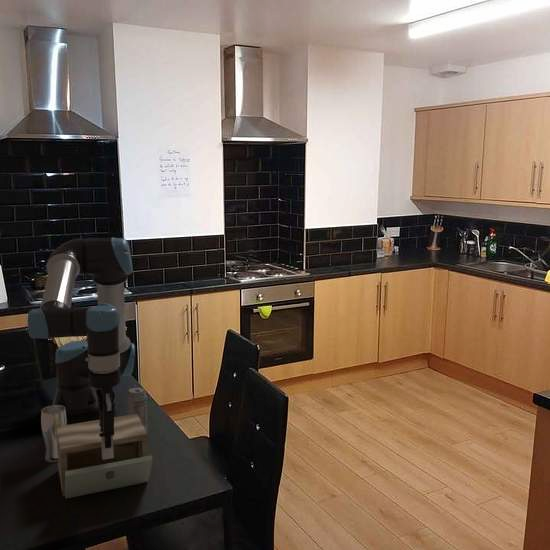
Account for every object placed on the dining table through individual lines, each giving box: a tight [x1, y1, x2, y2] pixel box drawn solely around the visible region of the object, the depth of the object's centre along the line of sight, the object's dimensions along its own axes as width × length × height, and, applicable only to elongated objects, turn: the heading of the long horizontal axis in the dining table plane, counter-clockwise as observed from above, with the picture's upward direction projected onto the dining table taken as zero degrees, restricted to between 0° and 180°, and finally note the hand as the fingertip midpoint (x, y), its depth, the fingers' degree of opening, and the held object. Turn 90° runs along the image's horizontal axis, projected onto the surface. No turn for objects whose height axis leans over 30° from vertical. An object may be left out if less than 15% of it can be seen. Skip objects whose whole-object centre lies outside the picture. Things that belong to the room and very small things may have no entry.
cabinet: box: [56, 414, 149, 497], centre depth 158 cm, size 14×22×14 cm, turn 114°
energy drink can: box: [126, 386, 148, 433], centre depth 184 cm, size 6×6×15 cm
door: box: [64, 454, 154, 499], centre depth 147 cm, size 2×21×12 cm
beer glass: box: [40, 404, 68, 464], centre depth 168 cm, size 7×7×15 cm
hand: (107, 457), depth 147 cm, fingers closed
